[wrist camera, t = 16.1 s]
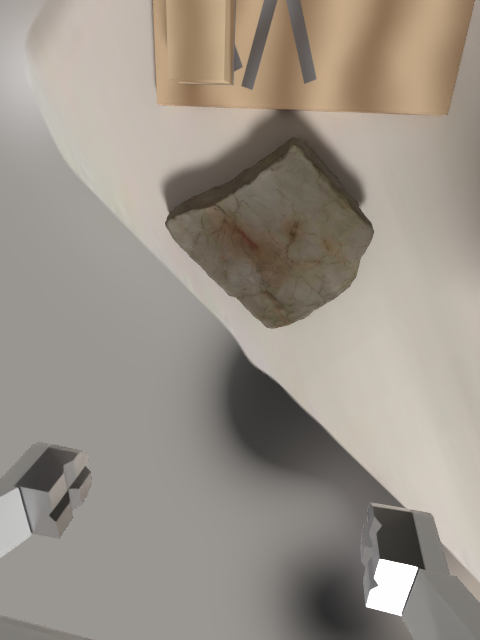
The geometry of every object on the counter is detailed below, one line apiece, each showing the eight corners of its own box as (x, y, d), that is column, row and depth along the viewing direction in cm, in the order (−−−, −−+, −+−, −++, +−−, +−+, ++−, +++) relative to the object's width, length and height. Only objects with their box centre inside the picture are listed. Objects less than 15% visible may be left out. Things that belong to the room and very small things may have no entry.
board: (479, -43, 28) (487, -52, 27) (442, 115, 32) (447, 114, 31) (158, -37, 32) (150, -44, 30) (163, 105, 36) (157, 104, 35)
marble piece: (169, 216, 41) (153, 224, 37) (275, 102, 35) (269, 98, 31) (276, 330, 44) (271, 348, 40) (391, 243, 38) (398, 255, 34)
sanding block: (236, -22, 30) (226, -40, 27) (233, 85, 33) (224, 80, 30) (181, -21, 31) (164, -39, 28) (182, 84, 34) (168, 79, 31)
